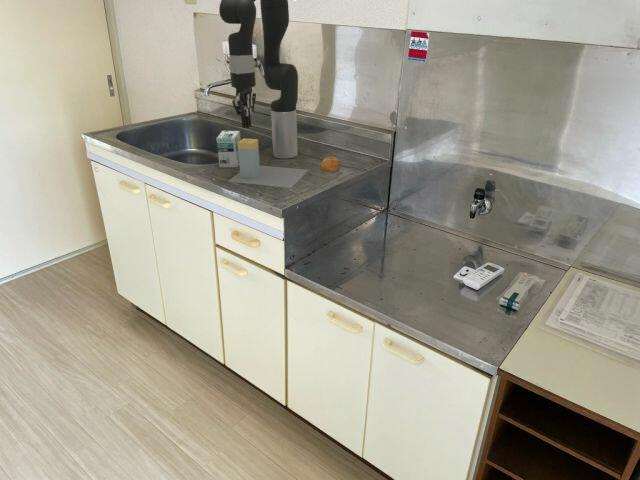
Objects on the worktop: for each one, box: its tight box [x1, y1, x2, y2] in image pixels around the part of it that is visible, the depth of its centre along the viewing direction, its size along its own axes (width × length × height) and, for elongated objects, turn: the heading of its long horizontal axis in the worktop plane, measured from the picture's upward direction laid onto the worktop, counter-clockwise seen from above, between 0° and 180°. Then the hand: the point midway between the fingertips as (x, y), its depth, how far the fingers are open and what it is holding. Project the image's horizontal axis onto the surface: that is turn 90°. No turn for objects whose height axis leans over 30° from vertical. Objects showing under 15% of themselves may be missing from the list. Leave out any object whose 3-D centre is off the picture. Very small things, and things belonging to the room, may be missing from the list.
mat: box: [227, 165, 309, 189], centre depth 162 cm, size 18×22×1 cm
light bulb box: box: [216, 130, 242, 168], centre depth 173 cm, size 11×7×11 cm, turn 179°
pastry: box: [320, 156, 341, 174], centre depth 167 cm, size 9×7×4 cm
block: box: [237, 137, 260, 179], centre depth 159 cm, size 5×5×12 cm
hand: (246, 126), depth 154 cm, fingers closed
